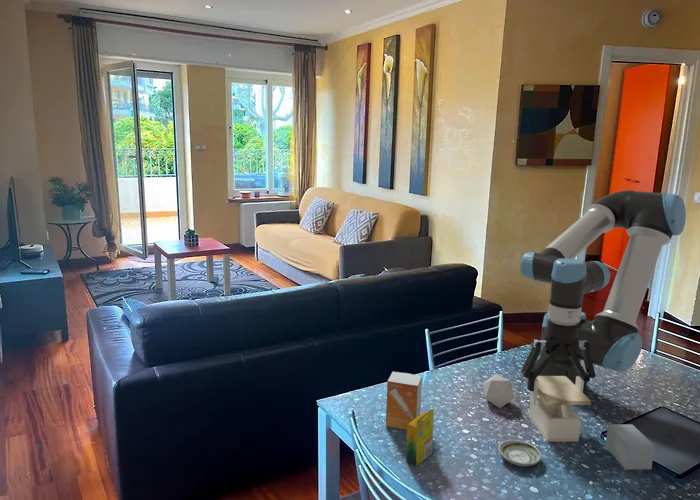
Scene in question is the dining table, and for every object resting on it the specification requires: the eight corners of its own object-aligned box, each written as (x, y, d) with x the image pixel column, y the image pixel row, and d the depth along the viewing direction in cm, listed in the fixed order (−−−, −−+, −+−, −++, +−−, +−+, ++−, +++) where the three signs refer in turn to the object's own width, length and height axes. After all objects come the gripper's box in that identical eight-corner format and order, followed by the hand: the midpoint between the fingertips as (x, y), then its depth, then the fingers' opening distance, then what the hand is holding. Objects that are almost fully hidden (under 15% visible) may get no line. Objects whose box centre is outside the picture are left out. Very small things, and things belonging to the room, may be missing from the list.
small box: (385, 427, 134) (386, 380, 132) (390, 415, 140) (392, 370, 138) (416, 432, 132) (418, 385, 129) (420, 420, 138) (422, 375, 135)
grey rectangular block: (625, 469, 118) (628, 445, 117) (605, 446, 127) (608, 424, 126) (651, 469, 118) (654, 445, 117) (629, 446, 127) (632, 424, 126)
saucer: (516, 477, 115) (517, 467, 115) (488, 453, 124) (489, 444, 123) (549, 467, 119) (550, 457, 118) (520, 444, 128) (521, 435, 127)
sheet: (546, 404, 125) (546, 401, 125) (525, 379, 139) (525, 375, 139) (590, 404, 126) (591, 401, 126) (565, 379, 140) (565, 376, 139)
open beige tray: (547, 441, 129) (549, 419, 128) (529, 416, 140) (530, 396, 139) (578, 441, 129) (581, 419, 128) (558, 416, 141) (560, 396, 140)
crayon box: (422, 448, 125) (424, 403, 123) (432, 452, 124) (435, 408, 121) (405, 462, 120) (407, 416, 117) (416, 467, 118) (418, 420, 116)
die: (519, 409, 146) (515, 374, 150) (508, 404, 140) (504, 369, 144) (491, 411, 150) (488, 377, 154) (479, 407, 144) (476, 372, 148)
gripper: (522, 325, 125) (515, 409, 129) (617, 326, 126) (607, 409, 130) (512, 315, 132) (505, 395, 136) (602, 316, 133) (592, 395, 137)
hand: (555, 402), depth 133 cm, fingers closed on sheet, 11 cm apart
